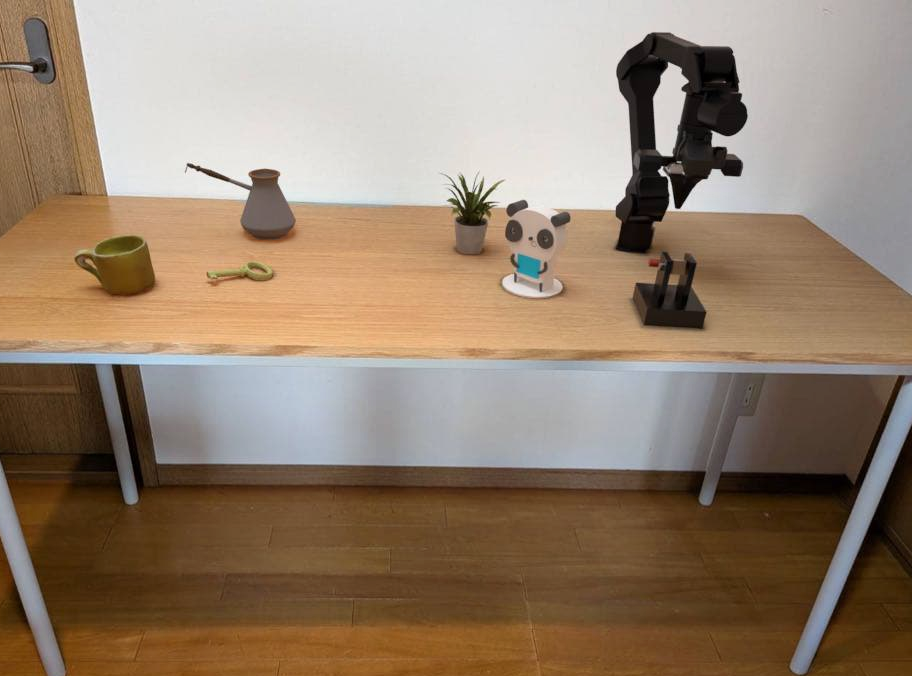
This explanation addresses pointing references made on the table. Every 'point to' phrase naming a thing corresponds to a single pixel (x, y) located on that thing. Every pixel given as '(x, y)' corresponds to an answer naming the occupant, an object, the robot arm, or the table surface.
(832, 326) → the table surface
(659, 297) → the lever base unit
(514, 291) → the panda figurine
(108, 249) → the mug
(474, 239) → the house plant
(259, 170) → the coffee pot
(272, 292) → the table surface
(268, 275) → the key
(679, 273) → the switch lever
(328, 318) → the table surface
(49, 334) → the table surface
